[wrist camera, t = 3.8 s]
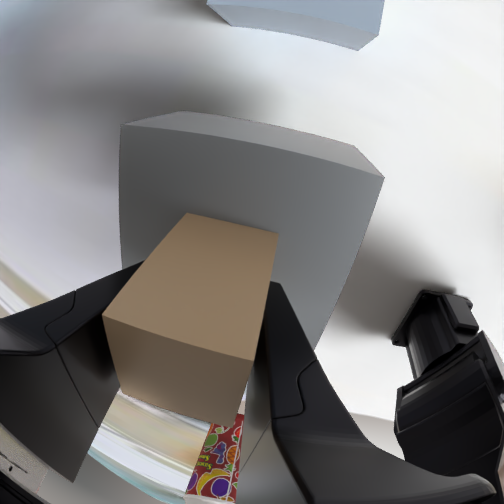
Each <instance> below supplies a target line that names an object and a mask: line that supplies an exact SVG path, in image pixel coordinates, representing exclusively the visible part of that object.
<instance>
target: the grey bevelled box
mask: <svg viewBox="0 0 504 504" xmlns="http://www.w3.org/2000/svg"><path fill="white" fill-rule="evenodd" d="M384 178H385V177H384V176H383V175H382V174H381V173H380V172H379V171H378V170H377V169H376V168H375V166H374V165H373V164H372V163H371V162H370V161H369V160H368V159H367V158H366V157H365V156H364V155H363V154H362V153H361V152H360V151H359V150H358V149H357V148H356V147H355V146H353V145H350V144H346V143H343V142H340V141H336V140H332V139H329V138H325V137H321V136H317V135H314V134H310V133H306V132H301V131H297V130H293V129H289V128H284V127H280V126H275V125H270V124H265V123H260V122H255V121H250V120H244V119H238V118H232V117H226V116H220V115H213V114H206V113H198V112H190V111H179V112H174V113H169V114H164V115H159V116H155V117H150V118H146V119H141V120H137V121H133V122H129V123H125V124H121V133H120V153H119V223H120V243H121V258H122V269H125V268H127V267H129V266H132V265H134V264H136V263H139V262H141V261H144V260H145V261H144V262H143V264H142V265H141V266H140V267H139V268H138V270H137V271H136V272H135V273H134V275H133V276H132V277H131V278H130V279H129V281H128V282H127V283H126V284H125V286H124V287H123V288H122V289H121V291H120V292H119V293H118V294H117V296H116V297H115V298H114V300H113V301H112V302H111V303H110V305H109V306H108V307H107V309H106V310H105V311H104V313H103V314H102V318H103V322H104V327H105V331H106V335H107V340H108V344H109V348H110V352H111V355H112V359H113V363H114V366H115V370H116V373H117V377H118V380H119V383H120V387H121V390H122V393H123V394H126V395H128V396H131V397H133V398H136V399H138V400H141V401H144V402H147V403H149V404H152V405H155V406H158V407H161V408H164V409H166V410H170V411H173V412H176V413H179V414H182V415H185V416H189V417H192V418H195V419H199V420H202V421H206V422H210V423H214V424H217V425H221V426H226V427H230V428H233V425H234V422H235V419H236V415H237V412H238V409H239V406H240V403H241V400H242V397H243V394H244V391H245V388H246V384H247V381H248V378H249V375H250V372H251V369H252V365H253V362H254V358H255V353H256V348H257V343H258V338H259V334H260V329H261V324H262V319H263V314H264V309H265V304H266V299H267V294H268V288H269V283H270V281H274V282H278V283H280V284H281V285H282V287H283V289H284V291H285V293H286V295H287V297H288V299H289V301H290V303H291V305H292V307H293V309H294V311H295V314H296V316H297V318H298V320H299V322H300V324H301V326H302V328H303V330H304V332H305V334H306V336H307V338H308V340H309V342H310V344H311V346H312V348H313V350H314V349H315V347H316V345H317V343H318V341H319V339H320V337H321V335H322V333H323V331H324V329H325V327H326V325H327V322H328V320H329V318H330V316H331V314H332V312H333V309H334V307H335V305H336V303H337V300H338V298H339V296H340V294H341V291H342V289H343V287H344V284H345V282H346V280H347V277H348V275H349V273H350V270H351V268H352V265H353V263H354V260H355V258H356V256H357V253H358V250H359V248H360V245H361V243H362V240H363V238H364V235H365V232H366V230H367V227H368V224H369V222H370V219H371V216H372V213H373V210H374V208H375V205H376V202H377V199H378V196H379V193H380V190H381V187H382V184H383V181H384Z"/></svg>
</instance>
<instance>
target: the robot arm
mask: <svg viewBox="0 0 504 504" xmlns="http://www.w3.org/2000/svg"><path fill="white" fill-rule="evenodd" d="M144 261H145V260H144ZM144 261H141V262H139V263H136V264H134V265H132V266H129V267H127V268H125V269H122V270H120V271H118V272H115V273H113V274H111V275H108V276H106V277H104V278H101V279H99V280H97V281H95V282H92V283H90V284H88V285H85V286H83V287H81V288H79V289H77V290H76V291H75V290H74V291H72V292H70V293H67V294H65V295H63V296H60V297H58V298H56V299H53V300H51V301H48V302H46V303H43V304H40V305H38V306H35V307H32V308H29V309H26V310H24V311H21V312H18V313H15V314H13V315H10V316H7V317H4V318H0V504H50V503H48V502H47V501H45V500H44V499H42V498H41V497H39V496H38V495H36V494H37V491H38V489H39V487H40V485H41V483H42V481H43V479H44V477H45V475H46V473H47V471H48V469H50V470H51V471H53V472H55V473H56V474H58V475H60V476H61V477H63V478H65V479H66V480H68V481H70V482H72V483H73V482H74V480H75V478H76V476H77V474H78V471H79V469H80V467H81V465H82V463H83V461H84V458H85V456H86V454H87V452H88V450H89V448H90V446H91V444H92V442H93V440H94V438H95V435H96V433H97V431H98V428H99V427H100V425H101V423H102V421H103V419H104V417H105V415H106V413H107V411H108V409H109V407H110V405H111V403H112V401H113V399H114V397H115V395H116V393H117V392H118V390H119V388H120V383H119V380H118V377H117V373H116V370H115V366H114V363H113V359H112V355H111V352H110V348H109V344H108V340H107V335H106V331H105V327H104V322H103V318H102V314H103V313H104V311H105V310H106V309H107V307H108V306H109V305H110V303H111V302H112V301H113V300H114V298H115V297H116V296H117V294H118V293H119V292H120V291H121V289H122V288H123V287H124V286H125V284H126V283H127V282H128V281H129V279H130V278H131V277H132V276H133V275H134V273H135V272H136V271H137V270H138V268H139V267H140V266H141V265H142V264H143V262H144ZM424 295H425V296H424ZM423 296H424V297H423ZM472 307H473V304H472V303H471V301H470V300H466V299H464V298H462V297H458V296H454V295H450V294H446V293H443V294H441V293H437V292H433V291H429V290H422V291H421V292H420V293H419V294H418V296H417V298H416V300H415V301H414V303H413V305H412V307H411V308H410V310H409V312H408V313H407V315H406V317H405V318H404V320H403V322H402V323H401V325H400V326H399V328H398V330H397V331H396V333H395V334H394V336H393V337H392V339H391V340H392V344H393V345H396V346H402V347H406V350H407V353H408V357H409V361H410V365H411V369H412V373H413V378H414V380H413V381H412V382H410V383H408V384H407V385H405V386H402V387H400V388H398V389H397V400H396V411H395V420H394V433H395V435H396V438H397V441H398V443H399V445H400V447H401V448H402V451H403V454H404V458H405V461H404V460H402V459H400V458H398V457H396V456H394V455H392V454H390V453H388V452H386V451H383V450H382V449H379V448H378V447H376V446H375V445H373V444H372V443H371V442H370V441H369V440H368V439H367V438H366V437H365V436H364V435H363V433H362V432H361V430H360V429H359V428H358V426H357V424H356V423H355V421H354V420H353V418H352V417H351V415H350V414H349V412H348V411H347V409H346V408H345V406H344V405H343V403H342V402H341V400H340V399H339V397H338V395H337V394H336V392H335V390H334V389H333V387H332V385H331V384H330V382H329V380H328V378H327V376H326V374H325V373H324V371H323V369H322V367H321V365H320V363H319V360H317V357H316V354H315V352H314V350H313V348H312V346H311V344H310V342H309V340H308V338H307V336H306V334H305V332H304V330H303V328H302V326H301V324H300V322H299V320H298V318H297V316H296V314H295V311H294V309H293V307H292V305H291V303H290V301H289V299H288V297H287V295H286V293H285V291H284V289H283V287H282V285H281V284H280V283H278V282H274V281H270V283H269V288H268V294H267V299H266V304H265V309H264V314H263V319H262V324H261V329H260V334H259V338H258V343H257V348H256V353H255V358H254V362H253V365H252V369H251V372H250V375H249V378H248V383H247V393H246V403H245V414H244V424H243V434H242V444H241V454H240V463H239V473H238V474H239V475H238V482H237V492H236V501H235V504H504V364H503V362H502V360H501V358H500V356H499V354H498V352H497V350H496V349H495V347H494V346H493V344H492V343H491V341H490V340H489V338H488V337H487V335H486V334H485V332H484V331H483V330H482V331H481V332H479V333H477V332H478V330H479V326H478V324H477V322H476V320H475V318H474V316H473V314H472V312H471V311H470V310H471V309H472ZM396 340H397V341H396Z"/></svg>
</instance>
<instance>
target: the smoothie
mask: <svg viewBox="0 0 504 504" xmlns="http://www.w3.org/2000/svg"><path fill="white" fill-rule="evenodd" d="M243 424H244V415H242V414H238V413H237V415H236V419H235V422H234V425H233V428H230V427H226V426H221V425H217V424H214V423H211V426H210V429H209V431H208V434H207V437H206V439H205V442H204V445H203V447H202V450H201V453H200V455H199V458H198V461H197V463H196V466H195V468H194V471H193V474H192V476H191V479H190V481H189V484H188V487H187V489H186V492H185V495H184V496H183V499H184V500H185V504H235V501H236V492H237V482H238V475H239V474H238V473H239V463H240V454H241V444H242V434H243Z"/></svg>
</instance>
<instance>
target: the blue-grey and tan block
mask: <svg viewBox="0 0 504 504" xmlns="http://www.w3.org/2000/svg"><path fill="white" fill-rule="evenodd" d="M207 5H208V6H209V7H210V8H212V9H213V10H214V11H215V12H216V13H217V14H219V15H220V16H221V17H222V18H223V19H224V20H226V21H227V22H228V23H229V24H230V25H231V26H236V27H246V28H255V29H262V30H269V31H276V32H282V33H287V34H293V35H298V36H303V37H307V38H312V39H316V40H320V41H325V42H328V43H332V44H336V45H340V46H343V47H347V48H350V49H354V50H357V51H359V50H360V49H361V48H362V47H364V46H365V45H366V44H368V43H369V42H370V41H372V40H373V39H374V38H375V37H377V36H378V35H379V30H380V24H381V18H382V13H383V7H384V0H207Z"/></svg>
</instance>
